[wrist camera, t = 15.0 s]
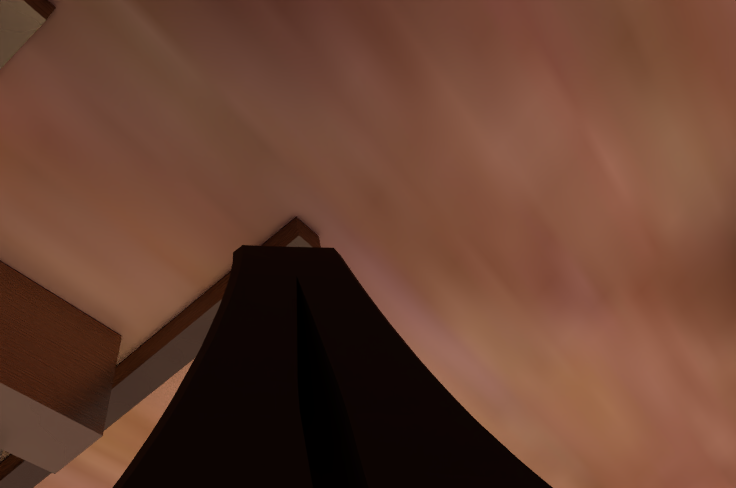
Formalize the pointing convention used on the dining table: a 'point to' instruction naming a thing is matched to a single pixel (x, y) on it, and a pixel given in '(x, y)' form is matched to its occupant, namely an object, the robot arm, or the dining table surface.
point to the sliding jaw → (51, 374)
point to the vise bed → (173, 342)
